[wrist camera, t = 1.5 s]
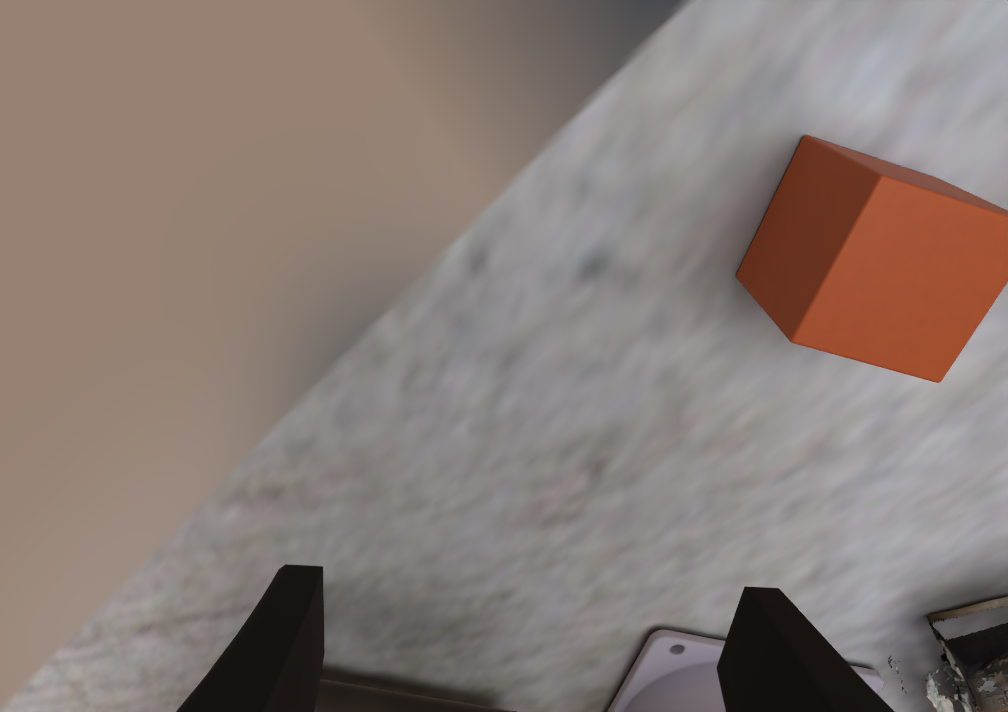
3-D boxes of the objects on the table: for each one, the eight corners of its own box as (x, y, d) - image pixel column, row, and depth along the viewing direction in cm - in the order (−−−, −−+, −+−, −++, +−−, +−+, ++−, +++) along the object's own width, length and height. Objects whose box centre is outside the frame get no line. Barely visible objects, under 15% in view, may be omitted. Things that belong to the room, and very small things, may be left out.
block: (939, 178, 19) (1045, 228, 16) (861, 313, 21) (940, 384, 17) (803, 133, 18) (881, 174, 15) (734, 276, 20) (790, 343, 17)
